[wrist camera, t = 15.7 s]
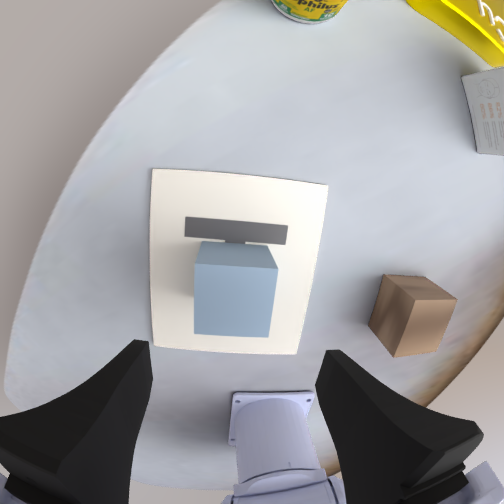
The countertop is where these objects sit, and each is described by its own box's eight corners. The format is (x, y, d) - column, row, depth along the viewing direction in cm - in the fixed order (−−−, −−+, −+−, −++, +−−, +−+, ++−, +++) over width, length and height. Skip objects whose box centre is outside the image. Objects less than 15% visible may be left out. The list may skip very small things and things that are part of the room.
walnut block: (408, 323, 24) (436, 351, 19) (367, 325, 23) (393, 357, 18) (424, 276, 22) (457, 299, 18) (383, 274, 22) (415, 300, 17)
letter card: (295, 351, 23) (296, 354, 23) (154, 343, 22) (153, 346, 21) (326, 185, 19) (328, 186, 19) (154, 168, 18) (152, 168, 17)
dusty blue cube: (260, 303, 21) (268, 337, 17) (199, 299, 20) (193, 333, 16) (267, 245, 20) (278, 268, 15) (202, 240, 19) (194, 263, 15)
